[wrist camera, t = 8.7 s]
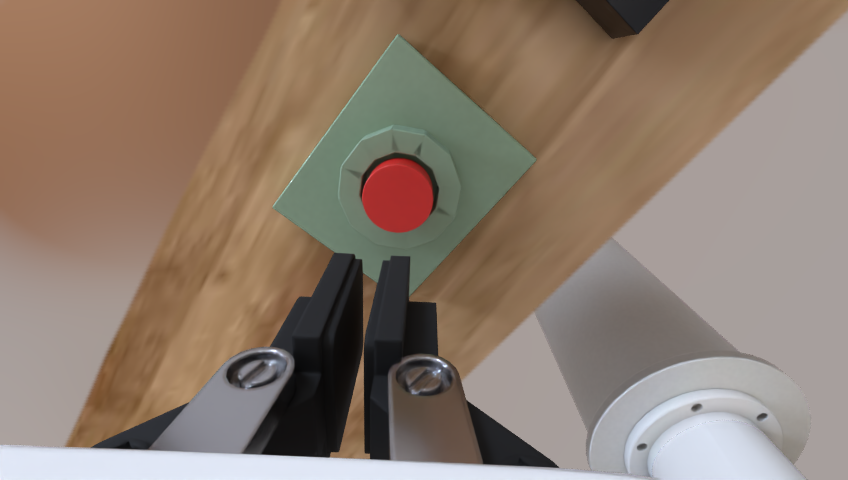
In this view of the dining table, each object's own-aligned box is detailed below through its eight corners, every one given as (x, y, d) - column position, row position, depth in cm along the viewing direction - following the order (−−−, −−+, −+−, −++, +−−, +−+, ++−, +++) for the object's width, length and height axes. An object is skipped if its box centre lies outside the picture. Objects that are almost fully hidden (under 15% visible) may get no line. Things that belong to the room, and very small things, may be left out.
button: (404, 234, 24) (403, 246, 22) (353, 194, 23) (347, 204, 21) (446, 186, 23) (448, 195, 21) (394, 143, 22) (391, 149, 20)
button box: (405, 290, 29) (402, 318, 25) (280, 199, 26) (260, 217, 23) (530, 154, 25) (546, 166, 22) (400, 35, 23) (395, 30, 20)
